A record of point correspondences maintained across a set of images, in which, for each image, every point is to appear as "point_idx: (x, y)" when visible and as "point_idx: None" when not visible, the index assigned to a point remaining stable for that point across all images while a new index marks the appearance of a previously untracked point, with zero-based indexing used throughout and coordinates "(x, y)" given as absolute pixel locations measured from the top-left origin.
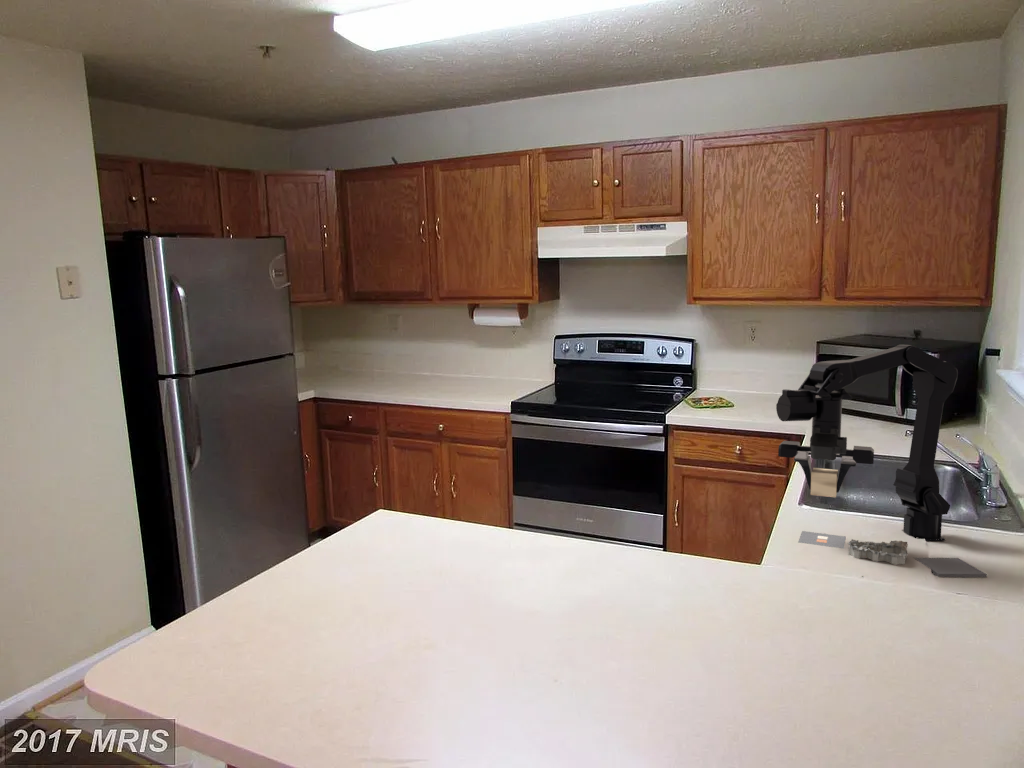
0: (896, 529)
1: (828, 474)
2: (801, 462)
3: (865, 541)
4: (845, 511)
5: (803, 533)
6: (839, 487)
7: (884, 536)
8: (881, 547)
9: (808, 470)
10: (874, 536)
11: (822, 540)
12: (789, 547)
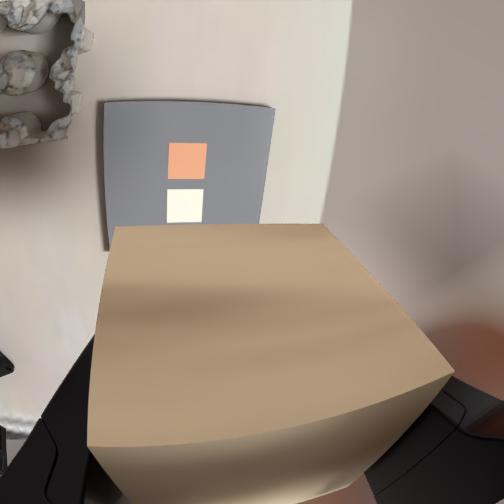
0: (32, 380)
1: (234, 426)
2: None
3: (22, 139)
4: None
5: None
6: (92, 345)
7: (29, 325)
8: None
9: (448, 404)
10: (48, 315)
11: (184, 168)
12: (301, 69)
